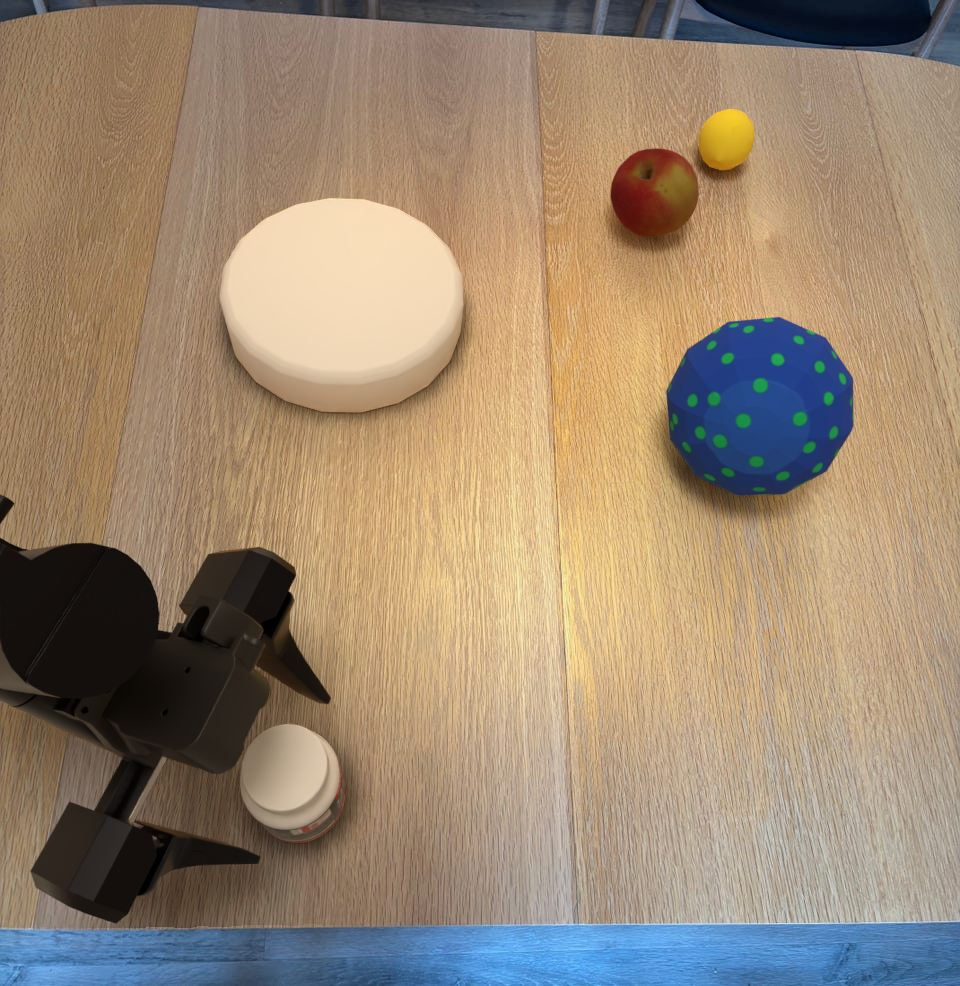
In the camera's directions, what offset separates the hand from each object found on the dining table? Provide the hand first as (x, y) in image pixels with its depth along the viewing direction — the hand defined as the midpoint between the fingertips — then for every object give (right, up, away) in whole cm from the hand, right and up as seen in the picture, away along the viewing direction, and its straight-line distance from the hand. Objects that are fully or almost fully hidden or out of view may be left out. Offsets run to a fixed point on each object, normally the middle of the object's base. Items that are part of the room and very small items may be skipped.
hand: (292, 776), depth 49 cm
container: (-1, +31, +26) cm, 40 cm away
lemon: (+35, +50, +39) cm, 73 cm away
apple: (+26, +42, +34) cm, 60 cm away
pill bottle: (-1, -4, +7) cm, 8 cm away
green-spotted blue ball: (+31, +20, +23) cm, 44 cm away
